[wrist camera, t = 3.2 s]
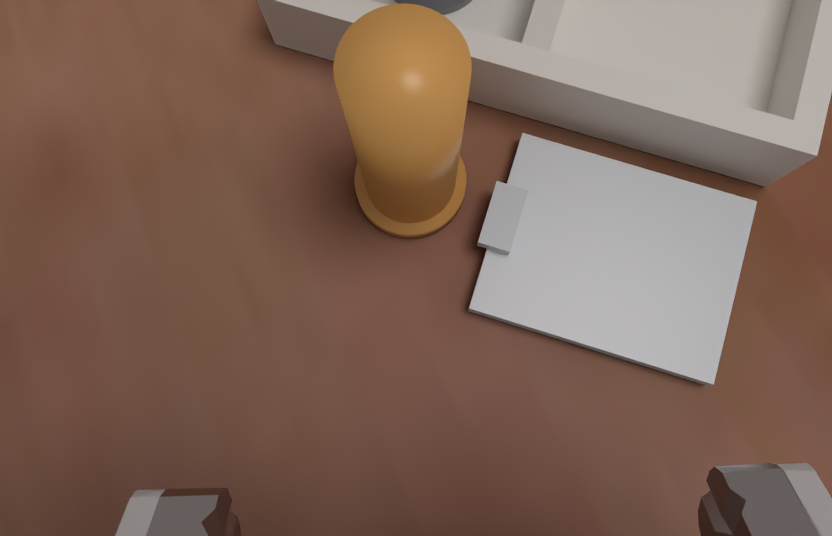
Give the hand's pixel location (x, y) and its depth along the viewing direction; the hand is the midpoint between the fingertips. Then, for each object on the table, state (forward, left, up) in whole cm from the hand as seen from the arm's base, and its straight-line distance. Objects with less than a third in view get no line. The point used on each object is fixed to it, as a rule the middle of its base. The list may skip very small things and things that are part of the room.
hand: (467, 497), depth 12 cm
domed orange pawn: (-4, +9, -13) cm, 16 cm away
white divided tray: (-1, +17, -13) cm, 22 cm away
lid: (+4, +8, -13) cm, 16 cm away
